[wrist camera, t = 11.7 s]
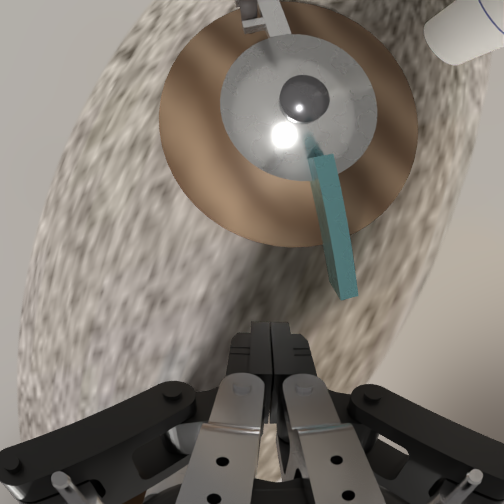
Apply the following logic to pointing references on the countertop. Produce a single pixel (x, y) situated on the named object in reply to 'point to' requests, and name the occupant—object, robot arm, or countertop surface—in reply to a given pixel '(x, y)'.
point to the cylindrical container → (466, 30)
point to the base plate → (251, 177)
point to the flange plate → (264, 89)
